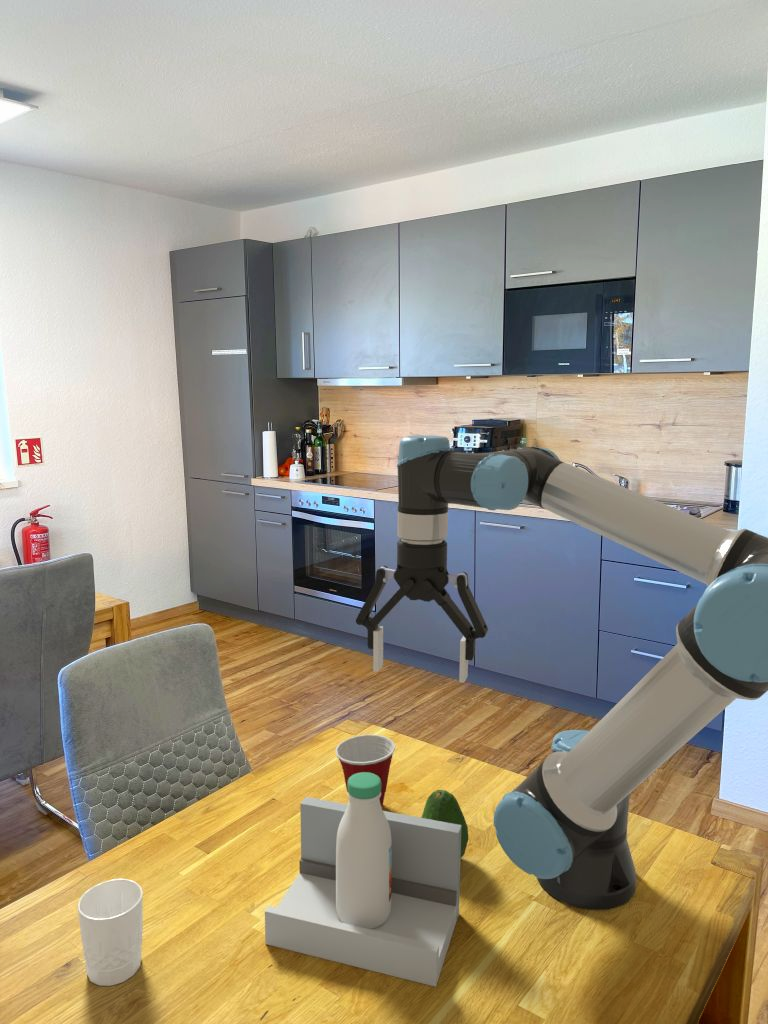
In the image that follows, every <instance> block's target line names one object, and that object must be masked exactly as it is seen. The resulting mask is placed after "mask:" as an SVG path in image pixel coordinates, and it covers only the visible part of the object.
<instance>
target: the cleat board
mask: <svg viewBox="0 0 768 1024" xmlns="http://www.w3.org/2000/svg"><path fill="white" fill-rule="evenodd" d="M347 806H348V803H344V802H338V801H337V802H336V801H331V800H325V799H320V798H316V797H309V796H305V797H304V798H303V800H302V801H300V806H299V807H300V859H299V864H298V865H299V873H298V874H297V876H296V878H295V879H294V880H293V882H292V884H291V885H290V887H289V888H288V890H287V891H286V892H285V894H284V895H283V897H282V899H281V900H280V901H279V903H278V904H277V906H273V905H268V906H267V907H266V908H265V910H264V934H265V935H264V937H265V939H264V943H265V944H264V945H269V946H272V947H275V948H279V949H284V950H288V951H291V952H295V953H299V954H304V955H307V956H312V957H315V958H319V959H324V960H327V961H331V962H336V963H339V964H344V965H347V966H348V965H349V966H351V967H356V968H360V969H362V970H363V969H364V970H368V971H372V972H376V973H379V974H384V975H388V976H391V977H396V978H400V979H402V980H407V981H411V982H416V983H420V984H423V985H427V986H431V987H435V988H436V987H437V984H438V982H439V978H440V975H441V971H442V969H443V966H444V963H445V959H446V956H447V953H448V949H449V946H450V943H451V939H452V937H453V934H454V931H455V926H456V924H457V921H458V917H459V916H460V895H461V894H460V890H461V889H460V888H461V887H460V886H461V883H460V882H461V859H462V858H461V825H458V824H452V823H447V822H441V821H436V820H431V819H425V818H422V817H419V816H418V817H417V816H415V815H408V814H402V813H395V812H392V811H386V810H383V812H384V814H385V816H386V818H387V821H388V823H389V826H390V831H391V840H392V891H391V912H390V915H389V917H388V919H387V920H386V921H385V922H384V923H383V924H382V925H380V926H378V927H376V928H373V929H367V928H363V927H358V926H354V925H350V924H346V923H343V922H341V920H340V919H339V917H338V915H337V912H336V842H337V832H338V827H339V824H340V821H341V819H342V817H343V815H344V813H345V811H346V809H347ZM460 858H461V859H460Z"/></svg>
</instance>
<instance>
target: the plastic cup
mask: <svg viewBox="0 0 768 1024" xmlns="http://www.w3.org/2000/svg"><path fill="white" fill-rule="evenodd" d="M395 750H396V745H395V742H394V740H392V739H391V738H390V737H387V736H384V735H380V734H362V735H361V734H360V735H355V736H352V737H349V738H347V739H344V740H342V741H341V742H340V743H338V744H337V746H336V747H335V750H334V751H335V757H336V758H337V759H338V760H339V762H340V765H341V769H342V771H343V778H344V782H345V788H346V792H347V793H348V789H347V783H348V779H349V778H350V777H351V776H352V775H354V774H356V773H361V772H368V773H373V774H375V775H377V776H378V777H379V778H380V779H381V797H380V798H379V800H380V804H381V807H382V808H383V805H384V801H385V796H386V792H387V788H388V787H387V786H388V782H389V781H388V780H389V775H390V774H389V773H390V769H391V764H392V759H393V754H394V752H395ZM347 793H346V794H347Z"/></svg>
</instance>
